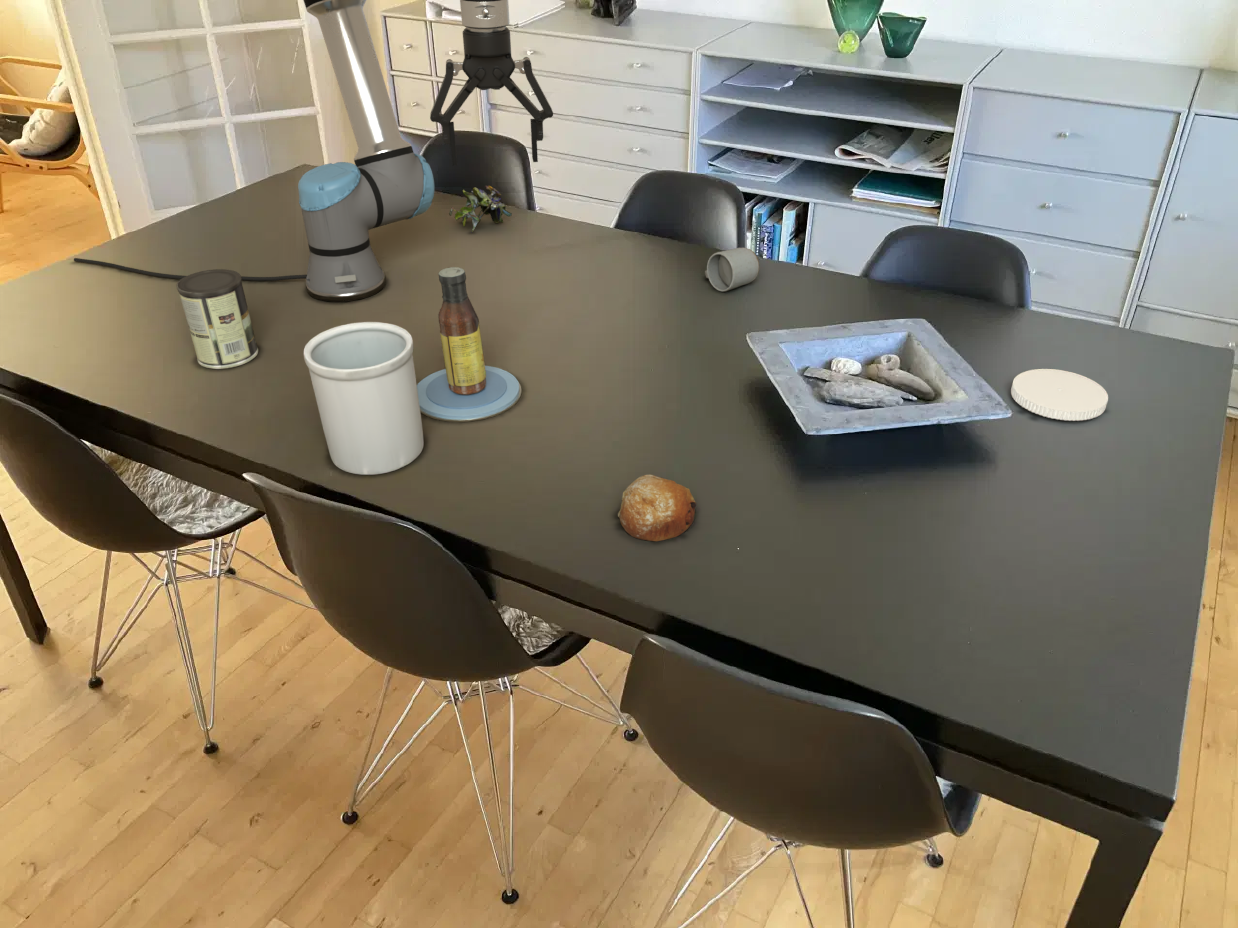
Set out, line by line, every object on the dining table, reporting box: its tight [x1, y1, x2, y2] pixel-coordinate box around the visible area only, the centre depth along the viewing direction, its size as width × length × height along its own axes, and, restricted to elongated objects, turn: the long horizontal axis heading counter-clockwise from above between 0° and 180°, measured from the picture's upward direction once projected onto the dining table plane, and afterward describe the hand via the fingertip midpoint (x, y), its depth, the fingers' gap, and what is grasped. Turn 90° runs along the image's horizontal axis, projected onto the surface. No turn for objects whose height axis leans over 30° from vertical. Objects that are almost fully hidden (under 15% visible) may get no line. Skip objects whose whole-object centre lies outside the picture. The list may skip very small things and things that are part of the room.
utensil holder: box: [303, 321, 425, 476], centre depth 142 cm, size 15×15×18 cm
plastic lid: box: [1010, 368, 1109, 422], centre depth 156 cm, size 14×14×2 cm
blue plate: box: [417, 365, 523, 423], centre depth 160 cm, size 18×18×1 cm
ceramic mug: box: [704, 247, 760, 293], centre depth 196 cm, size 11×8×8 cm
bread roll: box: [617, 473, 697, 542], centre depth 130 cm, size 10×10×8 cm
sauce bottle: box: [437, 266, 486, 395], centre depth 154 cm, size 7×6×20 cm
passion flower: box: [448, 185, 513, 234], centre depth 224 cm, size 11×11×12 cm
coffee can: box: [175, 268, 259, 370], centre depth 169 cm, size 10×10×14 cm
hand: (495, 161), depth 169 cm, fingers open, 13 cm apart
